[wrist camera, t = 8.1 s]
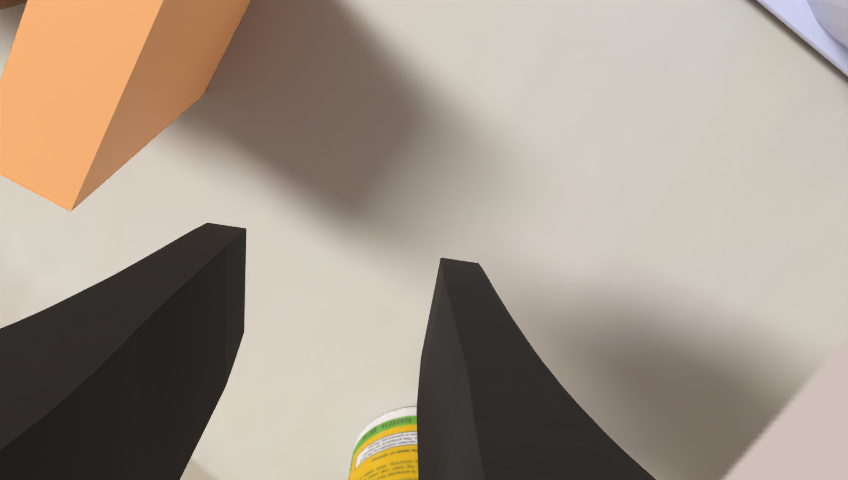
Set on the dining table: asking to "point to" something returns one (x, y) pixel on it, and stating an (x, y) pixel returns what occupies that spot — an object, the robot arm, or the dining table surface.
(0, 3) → the tile
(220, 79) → the dining table surface
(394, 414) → the supplement bottle
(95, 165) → the orange tile
